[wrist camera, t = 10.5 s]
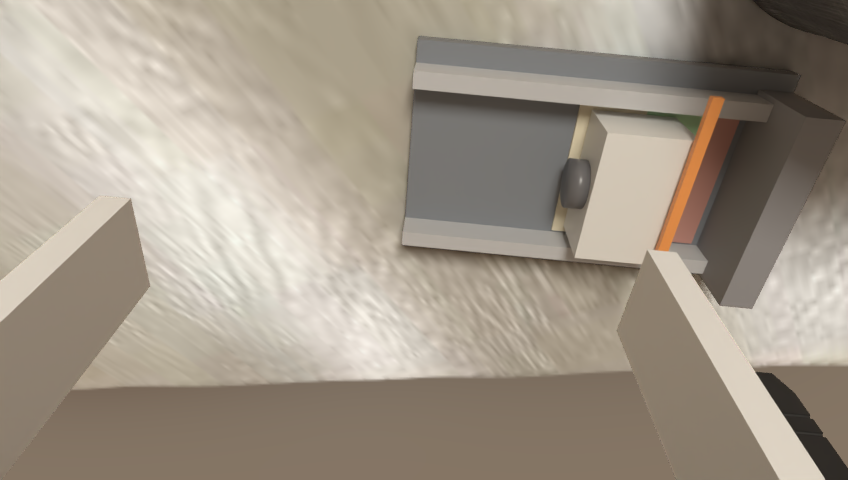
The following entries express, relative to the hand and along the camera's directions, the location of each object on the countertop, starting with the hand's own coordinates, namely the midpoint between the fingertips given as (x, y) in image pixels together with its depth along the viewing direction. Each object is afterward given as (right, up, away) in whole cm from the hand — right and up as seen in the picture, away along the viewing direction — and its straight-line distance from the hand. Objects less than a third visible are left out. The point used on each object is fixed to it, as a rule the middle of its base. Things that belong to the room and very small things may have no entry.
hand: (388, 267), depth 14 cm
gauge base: (+11, +6, +21) cm, 25 cm away
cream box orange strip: (+13, +5, +20) cm, 24 cm away
